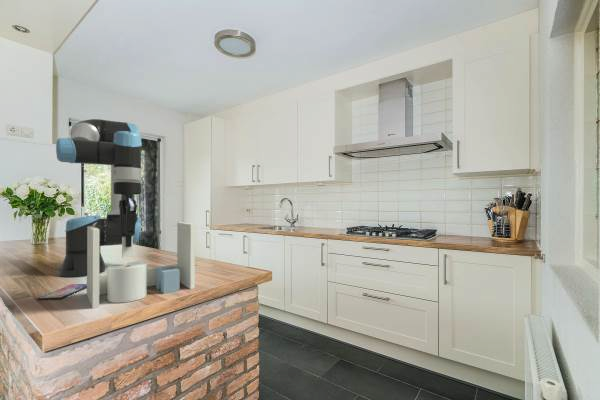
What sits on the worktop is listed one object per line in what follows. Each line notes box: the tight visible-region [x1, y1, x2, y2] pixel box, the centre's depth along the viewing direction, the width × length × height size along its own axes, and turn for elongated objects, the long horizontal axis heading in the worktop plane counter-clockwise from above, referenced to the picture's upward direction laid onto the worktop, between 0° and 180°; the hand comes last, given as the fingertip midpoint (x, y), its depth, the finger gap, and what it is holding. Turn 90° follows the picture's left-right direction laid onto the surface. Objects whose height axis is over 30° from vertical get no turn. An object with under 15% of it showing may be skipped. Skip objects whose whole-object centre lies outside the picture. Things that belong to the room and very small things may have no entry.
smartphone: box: [36, 283, 87, 301], centre depth 98 cm, size 8×1×15 cm
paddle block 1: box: [155, 265, 174, 291], centre depth 103 cm, size 3×5×7 cm, turn 131°
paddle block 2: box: [160, 268, 181, 295], centre depth 99 cm, size 3×5×7 cm, turn 131°
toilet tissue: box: [106, 259, 148, 304], centre depth 93 cm, size 11×12×10 cm
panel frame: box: [86, 221, 196, 309], centre depth 98 cm, size 14×29×22 cm, turn 131°
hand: (127, 257), depth 93 cm, fingers closed
